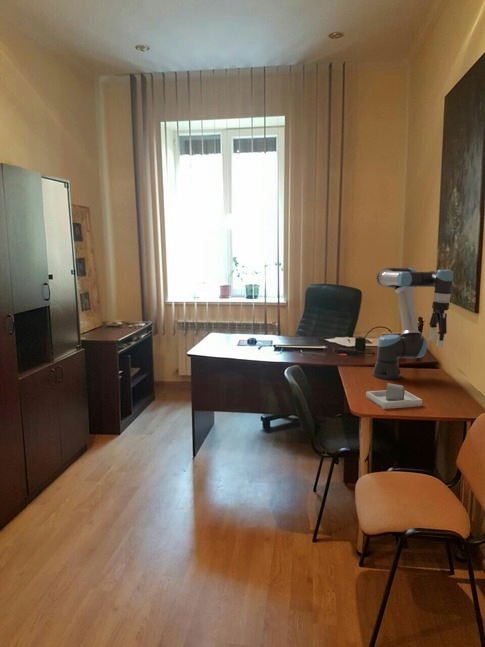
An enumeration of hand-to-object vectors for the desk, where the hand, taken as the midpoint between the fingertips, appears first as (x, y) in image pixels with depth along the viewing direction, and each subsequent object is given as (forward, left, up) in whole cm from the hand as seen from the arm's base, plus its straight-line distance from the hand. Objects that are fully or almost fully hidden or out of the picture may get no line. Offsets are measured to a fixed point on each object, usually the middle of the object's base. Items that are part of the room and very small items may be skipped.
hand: (435, 343), depth 231 cm
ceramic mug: (+8, -26, -25) cm, 37 cm away
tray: (+9, -27, -26) cm, 38 cm away
